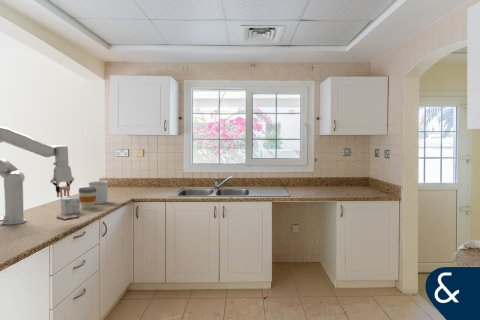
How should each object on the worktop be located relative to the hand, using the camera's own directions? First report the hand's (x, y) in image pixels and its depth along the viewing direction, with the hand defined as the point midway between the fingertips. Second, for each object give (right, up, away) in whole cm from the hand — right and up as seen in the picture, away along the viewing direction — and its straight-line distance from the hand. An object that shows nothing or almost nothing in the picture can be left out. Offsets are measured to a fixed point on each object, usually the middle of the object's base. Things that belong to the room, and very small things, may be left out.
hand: (63, 191), depth 217 cm
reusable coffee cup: (-2, -16, +39) cm, 42 cm away
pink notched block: (0, -4, 0) cm, 3 cm away
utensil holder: (-3, -15, +60) cm, 62 cm away
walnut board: (+1, -18, +4) cm, 18 cm away
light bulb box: (-5, -17, +19) cm, 26 cm away
